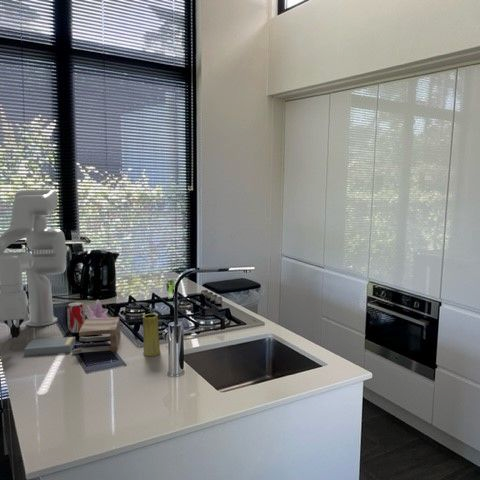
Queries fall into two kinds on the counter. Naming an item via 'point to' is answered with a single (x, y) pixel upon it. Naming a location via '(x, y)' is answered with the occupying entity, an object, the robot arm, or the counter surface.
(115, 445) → the counter surface
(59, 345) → the grey book
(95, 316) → the lily
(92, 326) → the shelf
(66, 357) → the counter surface
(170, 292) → the leek
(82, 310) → the soda can
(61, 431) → the counter surface
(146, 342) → the vase
